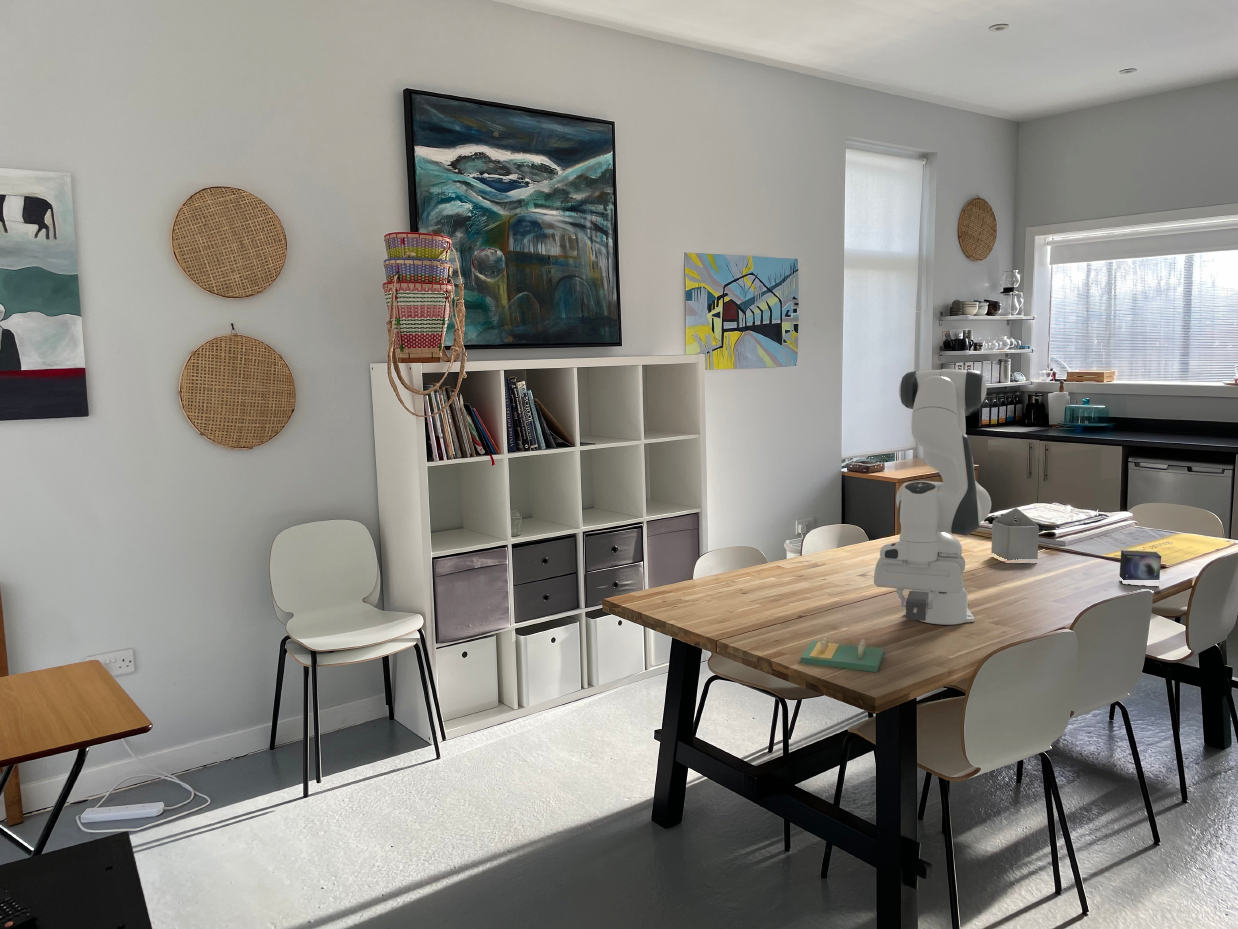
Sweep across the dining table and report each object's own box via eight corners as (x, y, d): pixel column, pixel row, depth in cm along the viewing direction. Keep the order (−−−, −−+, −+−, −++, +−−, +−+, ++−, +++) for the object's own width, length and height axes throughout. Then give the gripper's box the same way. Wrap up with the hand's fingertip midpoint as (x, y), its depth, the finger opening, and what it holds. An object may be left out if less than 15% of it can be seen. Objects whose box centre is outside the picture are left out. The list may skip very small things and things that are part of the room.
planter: (983, 560, 328) (985, 508, 326) (991, 557, 334) (993, 505, 332) (1030, 567, 317) (1032, 513, 315) (1037, 563, 323) (1040, 510, 321)
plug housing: (909, 607, 220) (909, 590, 220) (928, 609, 219) (928, 592, 218) (904, 622, 209) (904, 604, 208) (924, 624, 207) (924, 606, 206)
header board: (811, 646, 232) (811, 629, 231) (883, 654, 225) (884, 636, 224) (800, 663, 219) (800, 645, 218) (876, 672, 212) (877, 653, 211)
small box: (1123, 585, 290) (1124, 553, 289) (1118, 580, 296) (1120, 549, 295) (1160, 587, 287) (1162, 555, 286) (1154, 582, 293) (1156, 551, 292)
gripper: (965, 551, 212) (964, 607, 214) (876, 545, 220) (875, 600, 221) (965, 556, 206) (963, 615, 208) (873, 550, 214) (872, 607, 216)
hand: (917, 607), depth 215 cm, fingers closed on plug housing, 4 cm apart
